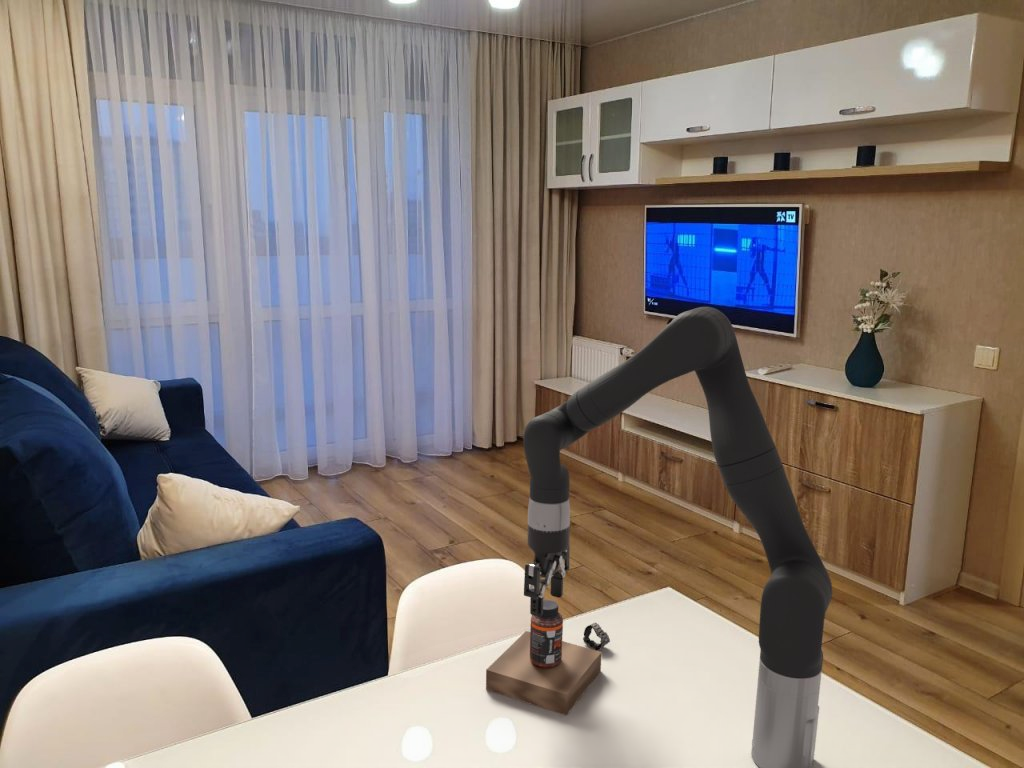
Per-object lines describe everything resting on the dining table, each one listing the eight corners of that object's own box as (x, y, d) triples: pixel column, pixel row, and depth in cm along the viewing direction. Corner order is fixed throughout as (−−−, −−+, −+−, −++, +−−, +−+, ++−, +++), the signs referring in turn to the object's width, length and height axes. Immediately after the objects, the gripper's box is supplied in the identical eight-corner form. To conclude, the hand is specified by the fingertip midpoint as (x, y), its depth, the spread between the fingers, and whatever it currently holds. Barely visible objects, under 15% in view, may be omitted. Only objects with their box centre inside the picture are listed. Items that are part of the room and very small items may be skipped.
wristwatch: (590, 655, 164) (604, 645, 161) (578, 632, 166) (592, 621, 163) (600, 652, 166) (614, 641, 163) (588, 628, 168) (602, 618, 166)
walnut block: (600, 671, 156) (601, 651, 155) (566, 715, 142) (567, 694, 141) (525, 649, 163) (526, 630, 162) (485, 689, 149) (486, 669, 149)
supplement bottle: (559, 671, 149) (561, 613, 146) (526, 667, 150) (528, 610, 147) (563, 654, 154) (565, 598, 152) (532, 650, 155) (534, 595, 153)
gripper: (550, 539, 138) (548, 627, 142) (583, 512, 151) (581, 594, 154) (511, 530, 142) (510, 617, 145) (546, 505, 154) (545, 585, 157)
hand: (546, 605), depth 150 cm, fingers open, 8 cm apart
